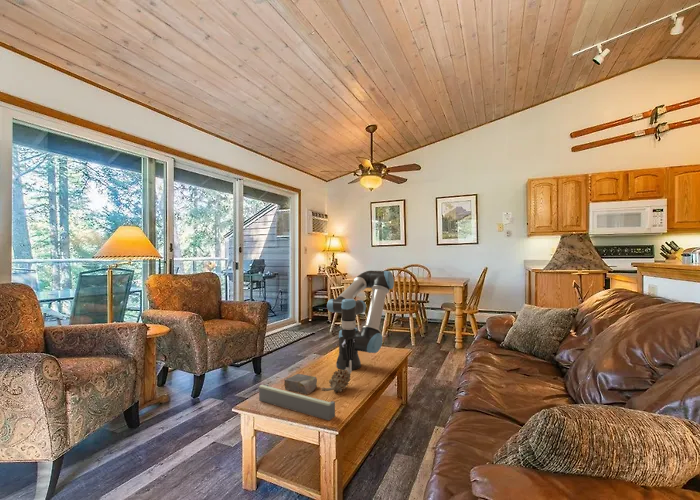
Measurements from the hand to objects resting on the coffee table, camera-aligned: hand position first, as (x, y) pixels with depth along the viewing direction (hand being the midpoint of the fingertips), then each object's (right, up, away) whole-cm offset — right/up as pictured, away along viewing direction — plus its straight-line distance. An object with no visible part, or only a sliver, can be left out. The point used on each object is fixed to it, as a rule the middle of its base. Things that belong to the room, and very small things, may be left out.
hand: (348, 372), depth 175 cm
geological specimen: (-24, -7, -5) cm, 26 cm away
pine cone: (-6, -6, -11) cm, 14 cm away
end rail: (-24, -6, -27) cm, 37 cm away
